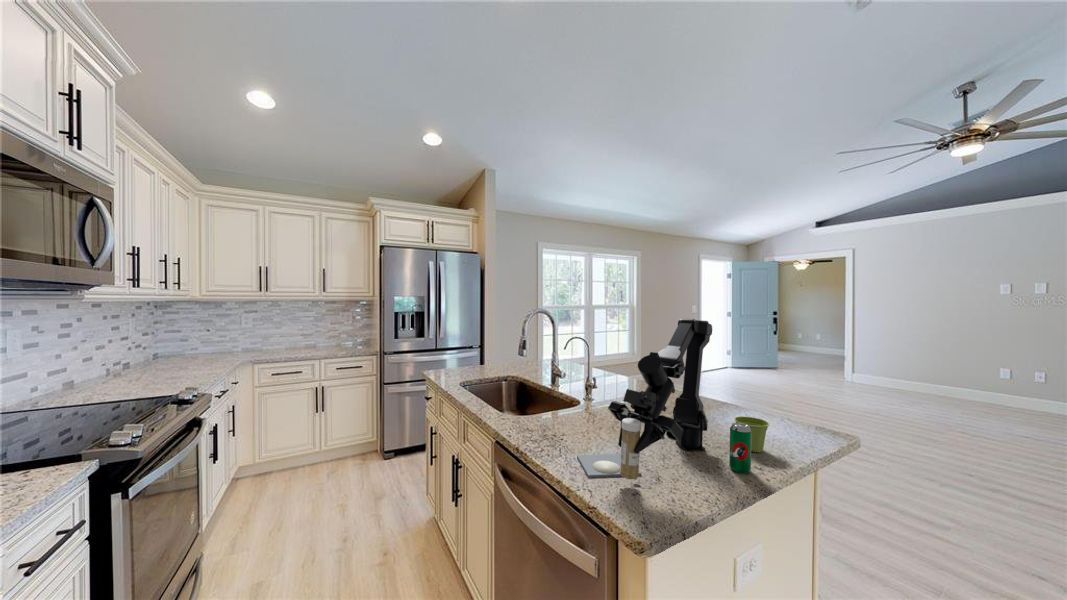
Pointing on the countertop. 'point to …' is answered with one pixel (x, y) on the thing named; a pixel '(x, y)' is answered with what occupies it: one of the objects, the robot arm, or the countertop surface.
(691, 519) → the countertop surface
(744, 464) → the soda can
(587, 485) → the countertop surface
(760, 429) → the plant pot
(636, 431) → the sprinkles bottle
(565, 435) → the countertop surface
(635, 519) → the countertop surface
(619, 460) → the board
